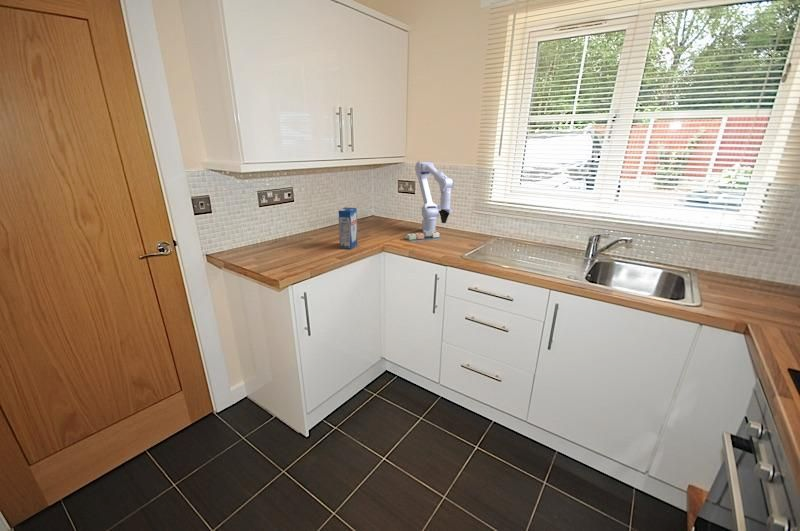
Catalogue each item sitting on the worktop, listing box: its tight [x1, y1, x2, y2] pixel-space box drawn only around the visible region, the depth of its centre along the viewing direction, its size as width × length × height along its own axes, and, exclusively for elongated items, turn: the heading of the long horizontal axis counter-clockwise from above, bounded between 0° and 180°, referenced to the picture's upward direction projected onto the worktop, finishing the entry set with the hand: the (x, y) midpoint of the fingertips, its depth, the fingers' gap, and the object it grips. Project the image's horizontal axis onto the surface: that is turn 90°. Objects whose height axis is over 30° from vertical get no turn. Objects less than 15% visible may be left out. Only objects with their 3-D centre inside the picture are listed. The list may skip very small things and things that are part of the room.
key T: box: [414, 232, 424, 239], centre depth 197 cm, size 4×4×2 cm
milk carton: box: [338, 207, 358, 250], centre depth 180 cm, size 10×6×20 cm, turn 168°
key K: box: [422, 230, 432, 236], centre depth 198 cm, size 4×4×2 cm
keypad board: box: [403, 235, 444, 243], centre depth 198 cm, size 12×20×1 cm, turn 113°
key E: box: [406, 233, 416, 241], centre depth 195 cm, size 4×4×2 cm
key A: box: [431, 231, 440, 238], centre depth 200 cm, size 4×4×2 cm
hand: (443, 222), depth 201 cm, fingers closed
